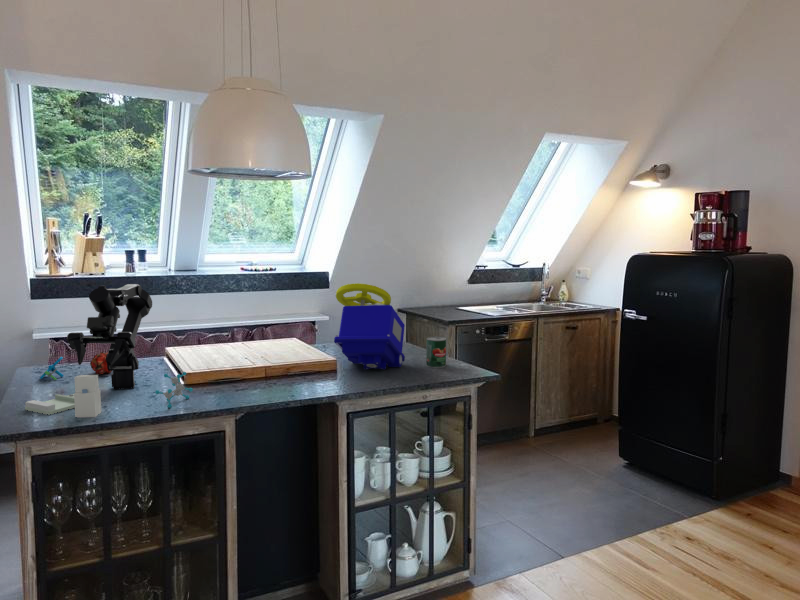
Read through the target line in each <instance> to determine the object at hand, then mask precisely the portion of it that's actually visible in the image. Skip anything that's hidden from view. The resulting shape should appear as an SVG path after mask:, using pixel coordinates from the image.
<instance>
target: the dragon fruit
mask: <svg viewBox="0 0 800 600" xmlns="http://www.w3.org/2000/svg"><path fill="white" fill-rule="evenodd" d="M107 353H108V352H104V351H101V352H100V353H99V354H96V355H94V356H93V357H92V359H91V360H90V362H89V365H90V367H91V368H90V369H91V370H92V371H94V372H95V375H98V376H99V375H100V376H101V374H102V375H103V374H104V373H106V374H110V373H113V371H108V368H107V363H106V355H107Z"/></svg>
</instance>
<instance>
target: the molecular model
mask: <svg viewBox="0 0 800 600" xmlns="http://www.w3.org/2000/svg"><path fill="white" fill-rule="evenodd" d="M186 375H187V372H186V371H182V374H180V373H178V374H176V376H174V377H171V376H169V375H168V373H164V374H163V377H164V378H168V379H170V380H171V382H172V383H171V385H172V387H175V389H174V390H173V389H171V388H168V389H167V390H166V391H165V392H161V391H160V390H159V389H156V390H155V391H154V392H155V394H156V395H159V394H160V395H163V396H164V398H165V399H166V401H167V408H168V409H171V408H172V406H173V405H172V403H171V400H172V398H174V397H175V396H176V397H178V396H183V397H185V400H189V399H190V396H189V395H188V394H187V395H185V393H182V391H183V390H186V391H189V393H190V392H193V390H194V389H193V388H192V387H189V388H188V387H185V386H184V384H182V383H181V378H182V377H184V376H186Z"/></svg>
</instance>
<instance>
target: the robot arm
mask: <svg viewBox="0 0 800 600" xmlns="http://www.w3.org/2000/svg"><path fill="white" fill-rule="evenodd" d="M88 299H89V301H90V303H91V304H92V306H93V309H94V310H95V311H96V312H97V313H98V316H96V317H94V316H90V317H89V316H88V317H87V320H86V321H87V322H86V329H89V333H90V335H92V336H85V335H84V333H83V332H69V333H68V334H67V337H66V342H67V343H68V345H69V346H70V348H71V349H72V350H74V351H76V356H77V358H76V359H77V364H78V365H79V366H81V365H82V363H83V361H84V358H85V355H86V352H87V349H86V348H87V345H88V344H103V345H104V344H110V347H109V349H108V350H107V351H108V352H106V353H107V355H106V363H107V368H108V371H112V373H111V375H110V377H111V387H112V390H113V391H114V390H128V389H129V390H130V389H134V388H135V386H136V382H135V371H137V370H139V365H140V364H139V360H138V358H137V356H136V353H135V351H134V348H135V346H136V343H137V342H136V337H137V335H138V331H139V329H140V325H141V322H142V319H143V318H145V317H147V316H148V315H149V313H150V311H151V309H152V307H153V300H152V297H151V295H150V293H149V292H148V291H146V290H144V289H143V287H142V286H141V284H137V283H130V284H129V283H128V284H125V285H123V286H120V287H119V288H107V286H106V285H98V288H95V289H93V290H92V291H90V293H89V294H88ZM124 306H125V307H126V311H127V313H128V314H127V315H126V319H125V321H124V325H123V327H122V331H118V332H117V323H118V321H119V319H120V318H121V314H120V309H119V307H124ZM116 332H117V334H116V336H114V335H115V333H116Z"/></svg>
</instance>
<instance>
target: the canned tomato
mask: <svg viewBox="0 0 800 600" xmlns="http://www.w3.org/2000/svg"><path fill="white" fill-rule="evenodd" d="M425 339H426V347H425V348H426V358H425V359H426V360H425V362H426V364H425V366H426V367H428V368H432V369H434V368H435V369H441V368H445V367H446V366H447V365H446V364H447V338H446V337H442V336H428V337H427V338H425Z"/></svg>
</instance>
